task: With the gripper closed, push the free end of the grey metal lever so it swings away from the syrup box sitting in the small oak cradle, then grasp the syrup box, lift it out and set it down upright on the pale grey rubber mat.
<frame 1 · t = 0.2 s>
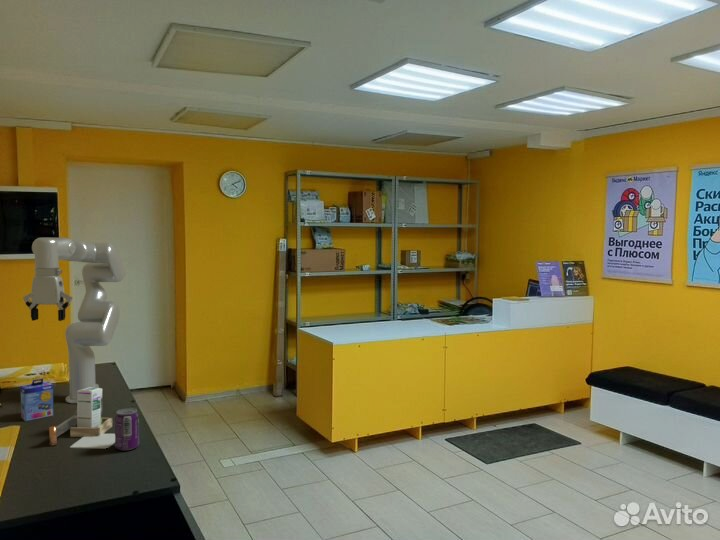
hand: (48, 320, 206), 37 cm above the table, tool pointing down, fingers open, 9 cm apart
lever: (66, 426, 193), point 3 cm above the table, hinge at 0.0°
syrup box: (89, 431, 197), on the table, touching mat
cradle: (89, 431, 197), on the table
beverage can: (127, 448, 183), on the table
mat: (97, 441, 188), on the table
ink cartridge box: (37, 417, 212), on the table
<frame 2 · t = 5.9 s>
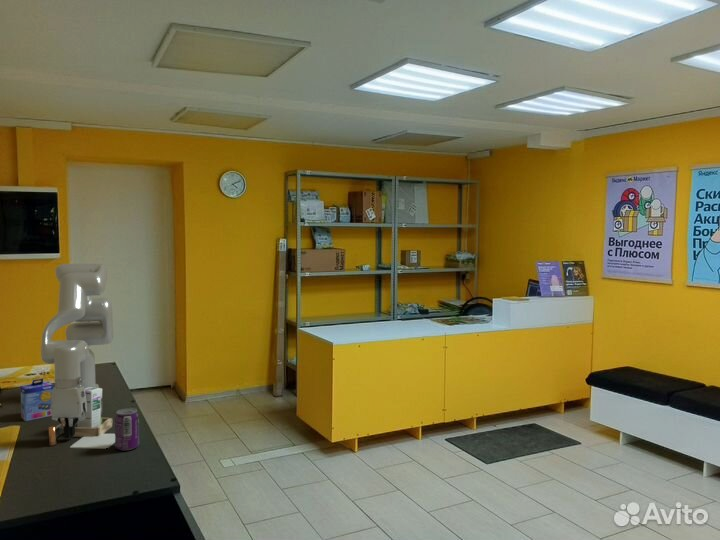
hand: (69, 437, 189), 1 cm above the table, tool pointing down, fingers closed
lever: (66, 426, 193), point 3 cm above the table, hinge at 0.6°, touching gripper
everything else where it was.
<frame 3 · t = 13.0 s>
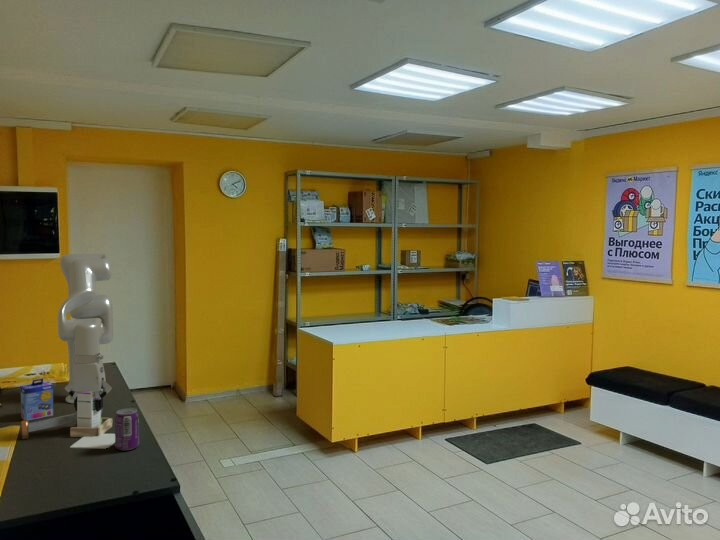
hand: (88, 409, 197), 8 cm above the table, tool pointing down, fingers closed on syrup box, 6 cm apart
lever: (53, 423, 195), point 3 cm above the table, hinge at 45.9°
syrup box: (89, 431, 197), on the table, touching gripper, mat
everything else where it was.
when the fingers open (9 cm above the table, at t = 18.1 s): syrup box drops 2 cm, resting on mat.
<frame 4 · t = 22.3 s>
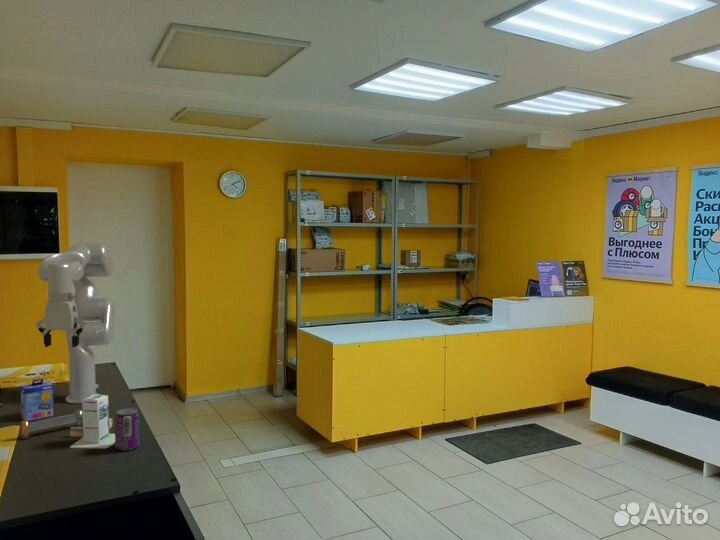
hand: (61, 346, 201), 28 cm above the table, tool pointing down, fingers open, 9 cm apart
syrup box: (96, 440, 188), resting on mat
everything else where it was.
at the end: lever at +46° (first picture: +0°); syrup box inside the target area (0.3 cm from its centre), resting on mat; syrup box tilted 0° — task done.
